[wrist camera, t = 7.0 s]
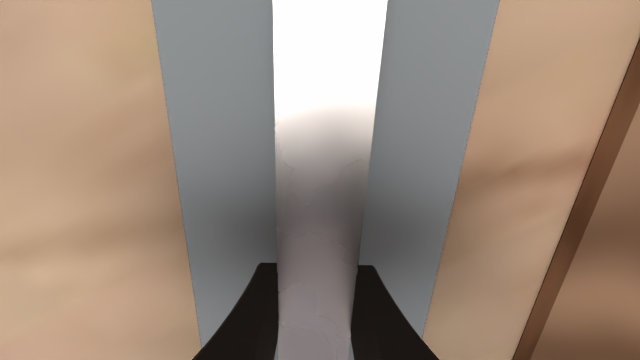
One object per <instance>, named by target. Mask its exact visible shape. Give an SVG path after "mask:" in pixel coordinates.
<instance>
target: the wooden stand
mask: <svg viewBox="0 0 640 360" xmlns="http://www.w3.org/2000/svg"><path fill="white" fill-rule="evenodd" d="M513 360H640V41H639V43H638V46H637V48H636V51H635V53H634V56H633V58H632V61H631V63H630V66H629V68H628V71H627V73H626V76H625V78H624V81H623V83H622V86H621V89H620V91H619V94H618V96H617V99H616V101H615V104H614V106H613V109H612V111H611V114H610V116H609V119H608V121H607V124H606V126H605V129H604V131H603V134H602V136H601V139H600V141H599V144H598V146H597V149H596V152H595V154H594V157H593V159H592V162H591V164H590V167H589V169H588V172H587V174H586V177H585V179H584V182H583V184H582V187H581V189H580V192H579V194H578V197H577V199H576V202H575V204H574V207H573V209H572V212H571V214H570V217H569V220H568V222H567V225H566V227H565V230H564V232H563V235H562V237H561V240H560V242H559V245H558V247H557V250H556V252H555V255H554V257H553V260H552V262H551V265H550V267H549V270H548V272H547V275H546V277H545V280H544V283H543V285H542V288H541V290H540V293H539V295H538V298H537V300H536V303H535V305H534V308H533V310H532V313H531V315H530V318H529V320H528V323H527V325H526V328H525V330H524V333H523V335H522V338H521V340H520V343H519V345H518V348H517V351H516V353H515V356H514V358H513Z"/></svg>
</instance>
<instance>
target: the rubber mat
mask: <svg viewBox="0 0 640 360" xmlns="http://www.w3.org/2000/svg"><path fill="white" fill-rule="evenodd" d="M499 2H500V0H387V7H386V17H385V26H384V35H383V44H382V53H381V62H380V72H379V81H378V90H377V99H376V108H375V117H374V127H373V136H372V145H371V154H370V163H369V172H368V181H367V191H366V200H365V209H364V218H363V227H362V236H361V246H360V255H359V264H358V265H373V266H374V267H375V268H376V270H377V272H378V274H379V276H380V278H381V280H382V281H383V283H384V285H385V287H386V288H387V290H388V292H389V293H390V295H391V297H392V298H393V300H394V301H395V303H396V304H397V306H398V307H399V309H400V310H401V312H402V313H403V315H404V316H405V318H406V319H407V320H408V322H409V323H410V324H411V326H412V327H413V328H414V330H415V331H416V332H417V334H418V335H419V336H420V338H421V339H422V337H423V333H424V328H425V324H426V320H427V315H428V311H429V307H430V302H431V298H432V294H433V289H434V285H435V281H436V276H437V272H438V267H439V263H440V259H441V254H442V250H443V246H444V241H445V237H446V233H447V228H448V224H449V220H450V215H451V211H452V206H453V202H454V198H455V193H456V189H457V185H458V180H459V176H460V172H461V167H462V163H463V159H464V154H465V150H466V146H467V141H468V137H469V132H470V128H471V124H472V119H473V115H474V111H475V106H476V102H477V98H478V93H479V89H480V85H481V80H482V76H483V71H484V67H485V63H486V58H487V54H488V50H489V45H490V41H491V37H492V32H493V28H494V24H495V19H496V15H497V10H498V6H499ZM151 3H152V9H153V16H154V23H155V30H156V37H157V44H158V51H159V58H160V64H161V71H162V78H163V85H164V92H165V99H166V106H167V113H168V120H169V126H170V133H171V140H172V147H173V154H174V161H175V168H176V175H177V182H178V188H179V195H180V202H181V209H182V216H183V223H184V230H185V237H186V244H187V250H188V257H189V264H190V271H191V278H192V285H193V292H194V299H195V306H196V312H197V319H198V326H199V333H200V340H201V347H202V348H203V347H204V346H205V344H206V343H207V342H208V341H209V340H210V338H211V337H212V336H213V335H214V333H215V332H216V331H217V330H218V328H219V327H220V326H221V324H222V323H223V321H224V320H225V319H226V317H227V316H228V315H229V313H230V312H231V310H232V309H233V307H234V306H235V304H236V303H237V301H238V300H239V298H240V297H241V295H242V294H243V292H244V290H245V289H246V287H247V285H248V283H249V282H250V280H251V278H252V276H253V274H254V272H255V270H256V268H257V265H259V264H260V263H277V238H276V169H275V100H274V32H273V0H151ZM274 360H278V341H277V346H276V352H275V357H274ZM348 360H354V355H353V349H352V343H351V337H350V346H349V355H348Z"/></svg>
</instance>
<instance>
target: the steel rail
mask: <svg viewBox="0 0 640 360" xmlns="http://www.w3.org/2000/svg"><path fill="white" fill-rule="evenodd" d="M386 7H387V0H273V32H274V100H275V169H276V238H277V273H278V322H279V331H278V360H348V355H349V346H350V337H351V332H350V330H351V321H352V312H353V302H354V293H355V284H356V275H357V273H358V264H359V255H360V246H361V236H362V227H363V218H364V209H365V200H366V191H367V181H368V172H369V163H370V154H371V145H372V136H373V127H374V117H375V108H376V99H377V90H378V81H379V72H380V62H381V53H382V44H383V35H384V26H385V17H386Z"/></svg>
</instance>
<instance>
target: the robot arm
mask: <svg viewBox="0 0 640 360" xmlns="http://www.w3.org/2000/svg"><path fill="white" fill-rule="evenodd" d="M278 331H279V322H278V273H277V263H260V264H259V265H257V268H256V270H255V272H254V274H253V276H252V278H251V280H250V282H249V283H248V285H247V287H246V289H245V290H244V292H243V294H242V295H241V297H240V298H239V300H238V301H237V303H236V304H235V306H234V307H233V309H232V310H231V312H230V313H229V315H228V316H227V317H226V319H225V320H224V321H223V323H222V324H221V326H220V327H219V328H218V330H217V331H216V332H215V333H214V335H213V336H212V337H211V338H210V340H209V341H208V342H207V343H206V344H205V346H204V347H203V348H202V349H201V350H200V351H199V352H198V354H197V355H196V356H195V357H194V358H193V359H192V360H274V357H275V352H276V346H277V341H278ZM350 332H351V343H352V349H353V355H354V360H439V359H438V358H437V357H436V355H435V354H434V353H433V352H432V351H431V350H430V349H429V347H428V346H427V345H426V344H425V343H424V341H423V340H422V339H421V338H420V336H419V335H418V334H417V332H416V331H415V330H414V328H413V327H412V326H411V324H410V323H409V322H408V320H407V319H406V318H405V316H404V315H403V313H402V312H401V310H400V309H399V307H398V306H397V304H396V303H395V301H394V300H393V298H392V297H391V295H390V293H389V292H388V290H387V288H386V287H385V285H384V283H383V281H382V280H381V278H380V276H379V274H378V272H377V270H376V268H375V267H374V266H373V265H358V273H357V275H356V284H355V293H354V302H353V312H352V321H351V330H350Z"/></svg>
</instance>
